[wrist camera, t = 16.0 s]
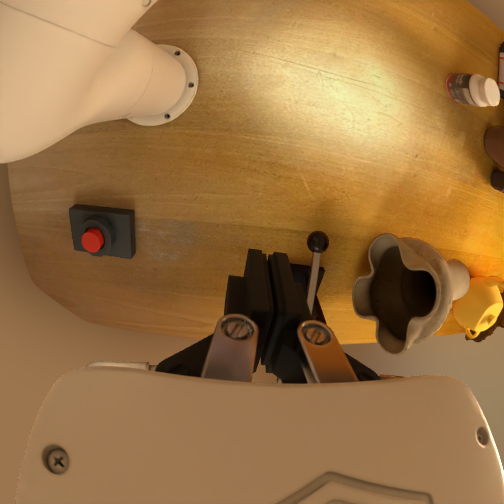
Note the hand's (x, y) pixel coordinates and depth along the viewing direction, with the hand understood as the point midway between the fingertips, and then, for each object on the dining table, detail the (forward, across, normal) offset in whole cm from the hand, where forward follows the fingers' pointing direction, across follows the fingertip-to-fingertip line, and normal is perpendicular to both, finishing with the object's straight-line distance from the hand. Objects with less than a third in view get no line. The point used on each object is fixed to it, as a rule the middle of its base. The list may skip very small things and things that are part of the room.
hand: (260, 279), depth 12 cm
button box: (+29, +23, +14) cm, 40 cm away
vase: (+29, -35, +14) cm, 48 cm away
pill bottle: (+29, -33, -23) cm, 50 cm away
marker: (+29, -47, -36) cm, 66 cm away
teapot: (+29, -60, +16) cm, 69 cm away
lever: (+24, -12, +16) cm, 31 cm away
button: (+26, +23, +14) cm, 37 cm away
